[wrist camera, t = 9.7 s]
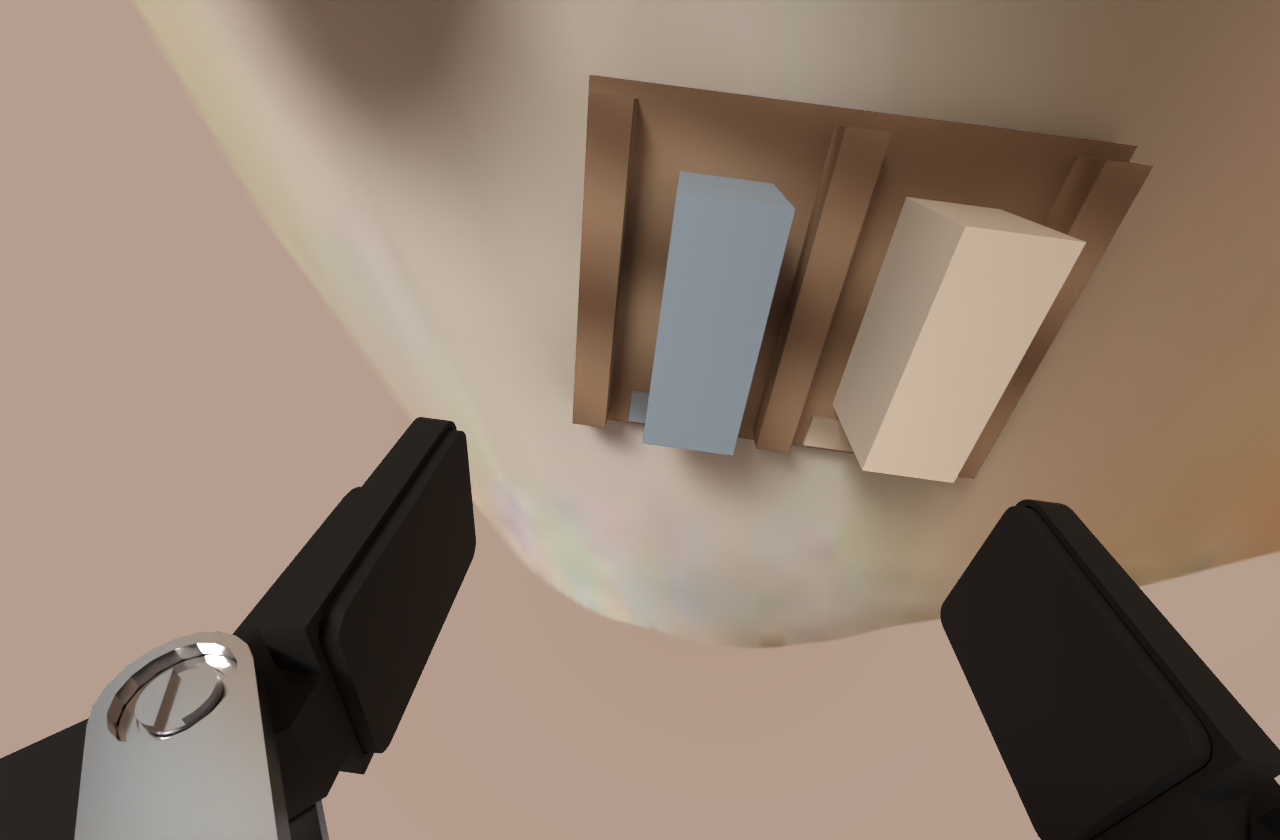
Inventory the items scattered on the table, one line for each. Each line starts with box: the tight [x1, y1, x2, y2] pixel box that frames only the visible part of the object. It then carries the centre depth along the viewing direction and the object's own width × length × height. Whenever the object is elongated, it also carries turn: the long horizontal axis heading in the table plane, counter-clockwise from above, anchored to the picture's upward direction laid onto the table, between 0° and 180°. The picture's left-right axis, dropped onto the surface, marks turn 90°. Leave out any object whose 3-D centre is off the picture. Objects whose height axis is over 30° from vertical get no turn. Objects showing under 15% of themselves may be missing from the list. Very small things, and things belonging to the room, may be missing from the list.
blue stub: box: [643, 171, 795, 456], centre depth 20 cm, size 9×4×5 cm, turn 174°
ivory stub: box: [832, 197, 1086, 483], centre depth 20 cm, size 9×4×5 cm, turn 174°
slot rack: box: [573, 75, 1153, 479], centre depth 22 cm, size 14×19×2 cm
